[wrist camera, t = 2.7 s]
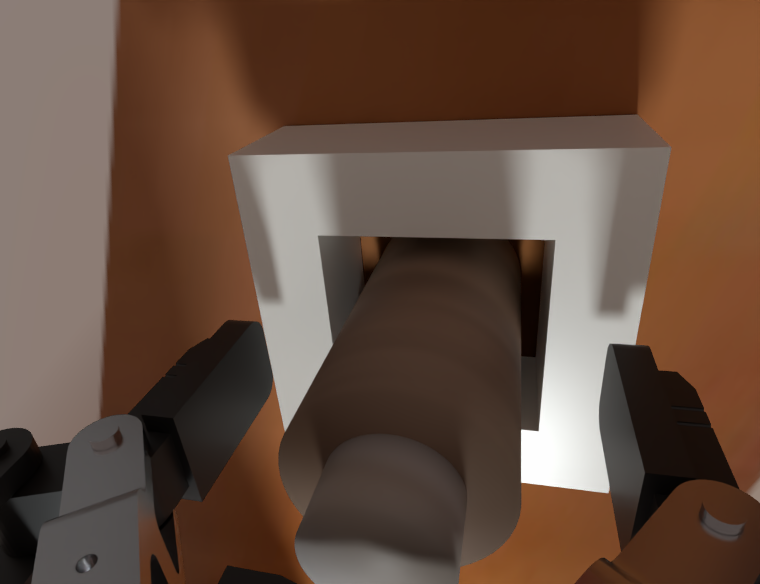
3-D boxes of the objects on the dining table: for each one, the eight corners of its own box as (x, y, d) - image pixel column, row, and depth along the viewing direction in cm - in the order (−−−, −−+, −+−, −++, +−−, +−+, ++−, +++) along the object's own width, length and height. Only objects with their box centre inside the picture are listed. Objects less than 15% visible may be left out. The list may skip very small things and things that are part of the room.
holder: (593, 410, 18) (608, 492, 15) (324, 386, 20) (289, 453, 17) (637, 114, 13) (671, 147, 10) (284, 126, 16) (228, 155, 13)
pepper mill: (475, 357, 18) (433, 682, 9) (360, 296, 18) (213, 568, 9) (550, 255, 16) (585, 562, 7) (418, 185, 15) (292, 410, 7)
